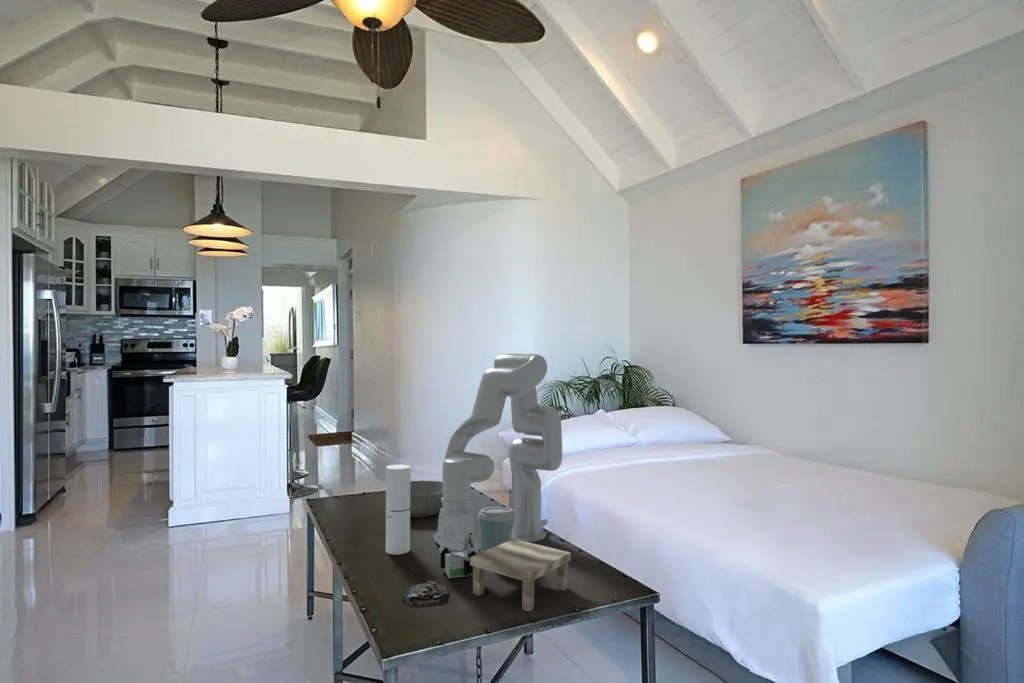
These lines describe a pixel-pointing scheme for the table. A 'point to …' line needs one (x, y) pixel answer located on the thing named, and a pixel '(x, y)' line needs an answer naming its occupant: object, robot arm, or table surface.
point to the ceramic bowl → (425, 498)
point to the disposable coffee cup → (496, 526)
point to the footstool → (521, 566)
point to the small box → (454, 564)
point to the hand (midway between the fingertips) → (456, 570)
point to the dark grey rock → (425, 594)
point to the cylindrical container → (397, 509)
